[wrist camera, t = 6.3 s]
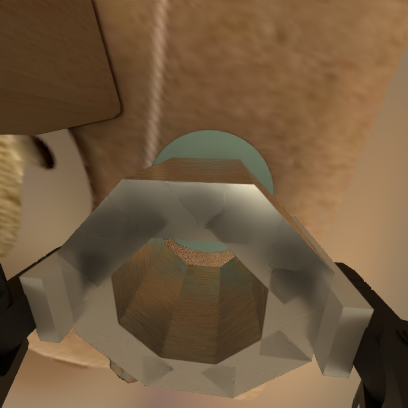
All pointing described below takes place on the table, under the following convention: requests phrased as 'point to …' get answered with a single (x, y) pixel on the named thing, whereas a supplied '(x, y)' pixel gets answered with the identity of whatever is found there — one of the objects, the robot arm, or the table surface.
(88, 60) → the wooden block
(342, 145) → the table surface
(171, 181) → the collar ring
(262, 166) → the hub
